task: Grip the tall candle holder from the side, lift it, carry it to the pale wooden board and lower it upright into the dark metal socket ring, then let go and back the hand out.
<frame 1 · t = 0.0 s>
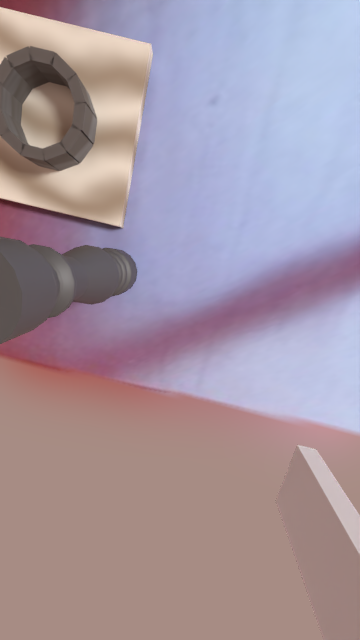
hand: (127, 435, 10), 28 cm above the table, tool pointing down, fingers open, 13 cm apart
socket board: (60, 128, 33), on the table
candle holder: (115, 271, 37), on the table
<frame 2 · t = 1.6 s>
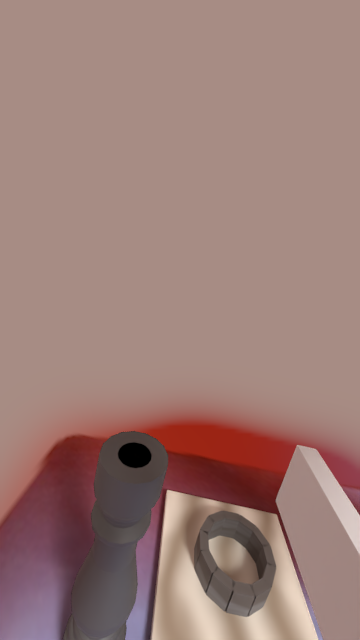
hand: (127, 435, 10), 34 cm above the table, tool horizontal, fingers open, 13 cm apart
socket board: (227, 573, 37), on the table
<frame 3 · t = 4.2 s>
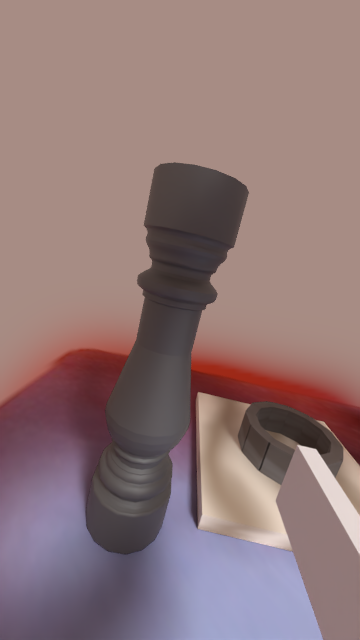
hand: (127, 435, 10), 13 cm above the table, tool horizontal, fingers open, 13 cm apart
socket board: (278, 464, 31), on the table
candle holder: (125, 513, 21), on the table
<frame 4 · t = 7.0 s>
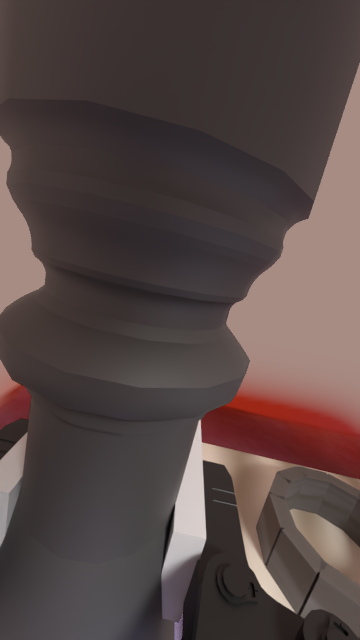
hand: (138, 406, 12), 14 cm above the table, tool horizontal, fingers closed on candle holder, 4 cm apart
socket board: (320, 575, 20), on the table
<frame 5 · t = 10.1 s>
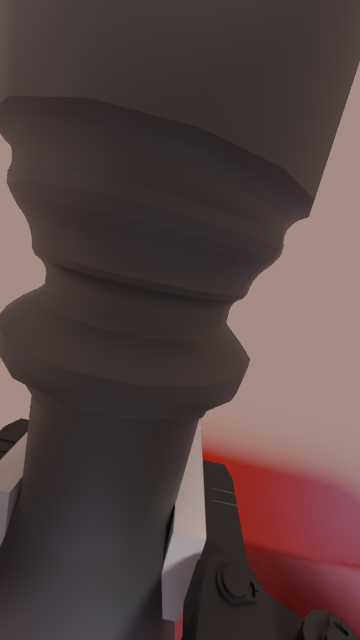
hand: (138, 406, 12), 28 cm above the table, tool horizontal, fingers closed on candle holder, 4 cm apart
when the fingers open (15 cm above the table, at t = 13.2 s): candle holder stays where it is, resting on socket board.
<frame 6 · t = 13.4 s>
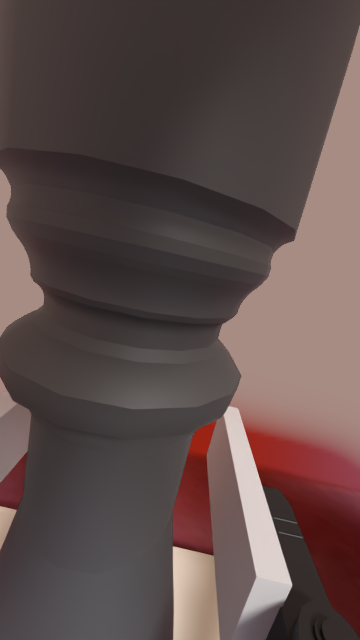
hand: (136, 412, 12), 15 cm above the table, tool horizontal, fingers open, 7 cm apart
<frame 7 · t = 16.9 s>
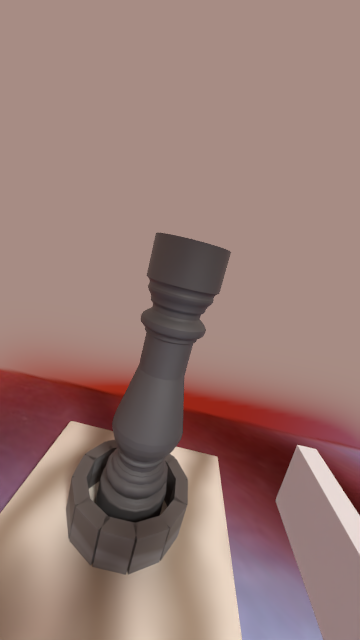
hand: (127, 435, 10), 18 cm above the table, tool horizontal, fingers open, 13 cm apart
socket board: (122, 520, 25), on the table
candle holder: (127, 510, 25), point 1 cm above the table, touching socket board
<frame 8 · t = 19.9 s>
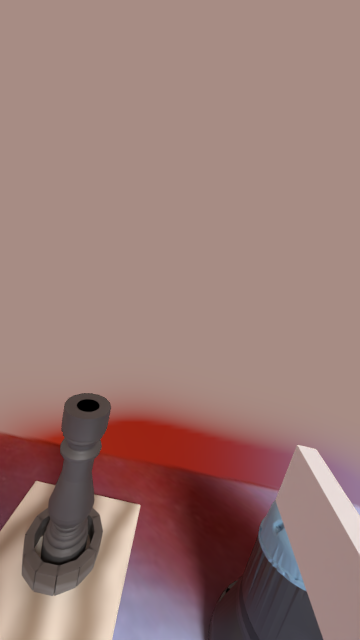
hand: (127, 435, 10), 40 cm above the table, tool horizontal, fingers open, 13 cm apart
socket board: (61, 558, 40), on the table
candle holder: (63, 552, 39), point 1 cm above the table, touching socket board
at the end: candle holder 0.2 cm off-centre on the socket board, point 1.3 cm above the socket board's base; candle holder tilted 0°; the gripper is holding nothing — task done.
